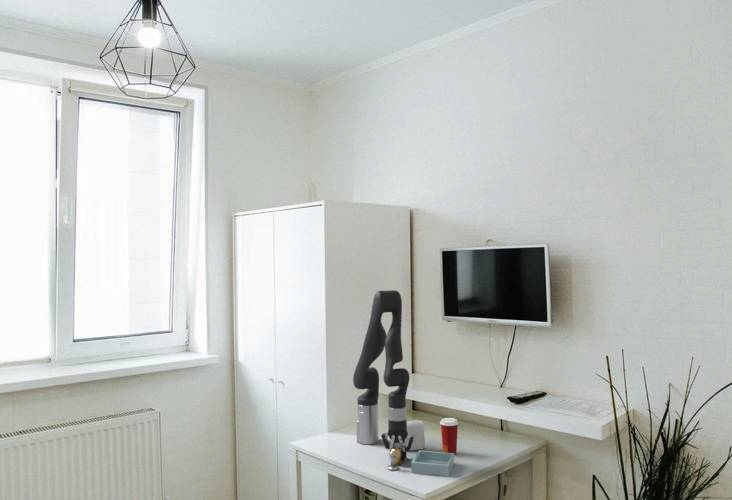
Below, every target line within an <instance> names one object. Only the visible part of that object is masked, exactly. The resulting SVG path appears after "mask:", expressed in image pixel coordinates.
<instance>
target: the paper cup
mask: <svg viewBox="0 0 732 500" xmlns="http://www.w3.org/2000/svg"><path fill="white" fill-rule="evenodd" d="M439 424H440V430H441V431H440V432H441V433H440V434H441V445H442V452H443V453H454V456H455V455H457V451H458V448H457V447H458V446H457V445H458V428H459V427H458V426H459V425H458V424H459V421H458V419H456V418H454V417H445V418H441V420H440V421H439Z"/></svg>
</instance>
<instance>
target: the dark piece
mask: <svg viewBox="0 0 732 500" xmlns="http://www.w3.org/2000/svg"><path fill="white" fill-rule="evenodd" d="M391 451H395V452H396V457H395V465H398V466H399V467H400V466H402V464H403V462H404V461H402V452H403V451H402V447H401V445H400V443H395V445H394V446H393V447H392V449H391Z"/></svg>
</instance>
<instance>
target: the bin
mask: <svg viewBox="0 0 732 500" xmlns="http://www.w3.org/2000/svg"><path fill="white" fill-rule="evenodd" d="M454 466H455V455H454V453H443V451H441V452H440V451H430V450H421V449H418V452H417V453H416V455H415V456H414V457H413V459H412V460H411V463H410V467H411V468H410V469H411V473H412V474H419V475H420V474H423V475H431V476H440V477H449V476H450V475H451V474H450V473H451V472H452V470H453V468H454Z"/></svg>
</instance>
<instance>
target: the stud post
mask: <svg viewBox="0 0 732 500" xmlns="http://www.w3.org/2000/svg"><path fill="white" fill-rule="evenodd" d="M388 456H389V458H390V464H389V465H387V468H386V469H387V471H391V472H395V471H399V467H400V465H399V466H398V465H395V457H396V452H395V451H391V452H390V451H389V452H388Z"/></svg>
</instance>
